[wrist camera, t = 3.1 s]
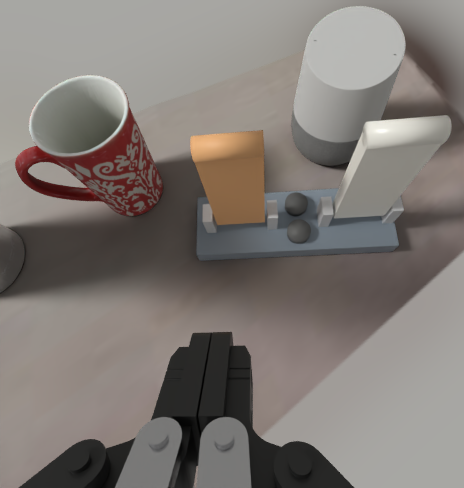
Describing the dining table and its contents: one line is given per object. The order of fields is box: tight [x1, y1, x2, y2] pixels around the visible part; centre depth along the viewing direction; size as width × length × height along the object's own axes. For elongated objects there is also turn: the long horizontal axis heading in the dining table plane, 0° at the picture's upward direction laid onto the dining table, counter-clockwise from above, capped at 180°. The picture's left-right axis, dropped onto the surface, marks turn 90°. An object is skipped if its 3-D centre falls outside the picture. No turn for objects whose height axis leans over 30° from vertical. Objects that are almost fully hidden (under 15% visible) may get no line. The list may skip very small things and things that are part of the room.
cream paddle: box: [332, 115, 451, 218], centre depth 27 cm, size 5×2×13 cm, turn 91°
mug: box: [15, 75, 163, 216], centre depth 34 cm, size 13×9×14 cm
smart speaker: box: [291, 6, 405, 166], centre depth 34 cm, size 10×9×14 cm
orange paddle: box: [190, 130, 265, 225], centre depth 28 cm, size 5×2×13 cm, turn 91°
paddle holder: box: [196, 188, 404, 261], centre depth 34 cm, size 21×7×5 cm, turn 91°
